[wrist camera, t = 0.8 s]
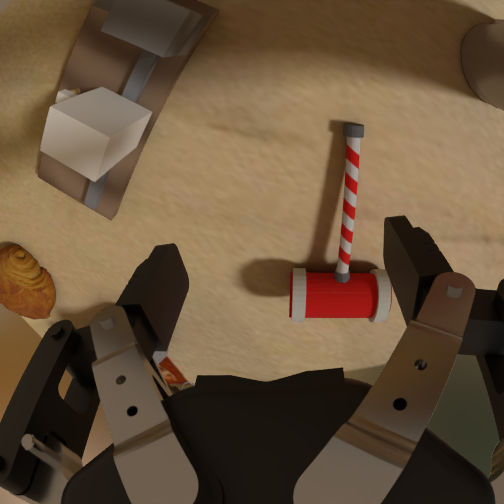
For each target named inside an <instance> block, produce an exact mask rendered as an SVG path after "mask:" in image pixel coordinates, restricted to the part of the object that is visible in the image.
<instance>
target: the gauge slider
mask: <svg viewBox="0 0 504 504" xmlns="http://www.w3.org/2000/svg"><path fill="white" fill-rule="evenodd" d="M55 103H57V104H54V105H52V106H50V109H49V112H48V116H47V120H46V124H45V128H44V133H43V137H42V142H41V146H40V151H42V152H44V153H45V154H47V155H49V156H51V157H52V158H54V159H56V160H57V161H59V162H61V163H63V164H64V165H66V166H68V167H70V168H71V169H73V170H75V171H76V172H78V173H80V174H82V175H83V176H85V177H87V178H89V179H90V180H92V181H94V182H96V181H97V180H98V179H99V178H100V177H101V176H102V175H104V174H105V173H106V172H107V171H108V170H109V169H111V168H112V167H113V166H114V165H115V164H116V163H118V162H119V161H120V160H121V159H122V158H124V157H125V156H126V155H127V154H129V153H130V152H131V151H132V150H134V149H135V148H136V147H137V145H138V143H139V140H140V138H141V136H142V134H143V131H144V129H145V127H146V125H147V123H148V121H149V119H150V116H151V114H152V111H150V110H148V109H146V108H144V107H142V106H140V105H138V104H136V103H134V102H132V101H130V100H128V99H126V98H124V97H122V96H120V95H118V94H116V93H114V92H112V91H110V90H108V89H106V88H104V87H100V88H97V89H94V90H91V91H88V92H85V93H83V94H80V90H79V89H78V88H75V89H72V90H66V89H64V90H61V91H58V94H57V97H56V101H55Z"/></svg>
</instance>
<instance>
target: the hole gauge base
mask: <svg viewBox="0 0 504 504" xmlns="http://www.w3.org/2000/svg"><path fill="white" fill-rule="evenodd" d="M218 12H219V10H217V9H215V8H212V7H210V6H208V5H206V4H204V3H201V2H199V1H197V0H95V1H94V3H93V5H92V7H91V9H90V11H89V13H88V15H87V17H86V19H85V21H84V24H83V26H82V28H81V30H80V33H79V35H78V37H77V40H76V42H75V45H74V47H73V50H72V52H71V55H70V58H69V60H68V63H67V66H66V69H65V71H64V74H63V77H62V80H61V83H60V86H59V90H58V91H61V90H64V89H66V90H72V89H75V88H78V89H79V90H80V94H83V93H85V92H88V91H91V90H94V89H97V88H100V87H104V88H106V89H108V90H110V91H112V92H114V93H116V94H118V95H120V96H122V97H124V98H126V99H128V100H130V101H132V102H134V103H136V104H138V105H140V106H142V107H144V108H146V109H148V110H150V111H152V114H151V116H150V119H149V121H148V123H147V125H146V127H145V129H144V131H143V134H142V136H141V138H140V140H139V143H138V145H137V147H136V148H135V149H134V150H132V151H131V152H130V153H129V154H127V155H126V156H125V157H124V158H122V159H121V160H120V161H119V162H118V163H116V164H115V165H114V166H113V167H112V168H111V169H109V170H108V171H107V172H106V173H105V174H104V175H102V176H101V177H100V178H99V179H98V180H97V181H96V182H94V181H92V180H90V179H89V178H87V177H85V176H83V175H82V174H80V173H78V172H76V171H75V170H73V169H71V168H70V167H68V166H66V165H64V164H63V163H61V162H59V161H57V160H56V159H54V158H52V157H51V156H49V155H47V154H45V153H44V152H42V156H41V161H40V167H39V172H38V177H39V178H40V179H42V180H44V181H45V182H47V183H49V184H50V185H52V186H53V187H55V188H57V189H58V190H60V191H62V192H63V193H65V194H67V195H68V196H70V197H72V198H73V199H75V200H77V201H78V202H80V203H82V204H84V205H85V206H87V207H89V208H90V209H92V210H94V211H95V212H97V213H99V214H101V215H102V216H104V217H106V218H108V219H109V220H112V219H113V218H114V217H115V215H116V214H117V211H118V209H119V206H120V203H121V201H122V198H123V195H124V193H125V190H126V188H127V185H128V183H129V180H130V178H131V175H132V173H133V171H134V168H135V166H136V164H137V161H138V159H139V157H140V154H141V152H142V150H143V148H144V145H145V143H146V141H147V139H148V137H149V134H150V132H151V130H152V128H153V126H154V124H155V122H156V120H157V118H158V116H159V114H160V112H161V110H162V108H163V106H164V104H165V102H166V100H167V98H168V96H169V94H170V92H171V90H172V88H173V87H174V85H175V83H176V81H177V79H178V77H179V76H180V74H181V72H182V70H183V68H184V67H185V65H186V63H187V62H188V60H189V58H190V56H191V55H192V53H193V51H194V50H195V48H196V46H197V45H198V43H199V41H200V40H201V38H202V37H203V35H204V33H205V32H206V30H207V29H208V27H209V26H210V24H211V22H212V21H213V19H214V18H215V16H216V15H217V13H218ZM57 94H58V93H57ZM56 97H57V96H56ZM55 101H56V99H55ZM54 104H57V103H54Z"/></svg>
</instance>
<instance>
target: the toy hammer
mask: <svg viewBox="0 0 504 504" xmlns="http://www.w3.org/2000/svg"><path fill="white" fill-rule="evenodd" d="M344 136H347V148H346V170H345V187H344V201H343V214H342V226H341V236H340V246H339V256H338V264H337V268H336V270H335V273H306V268H293V272H291V276H290V309H289V317H291V322H304V319H305V318H368V319H369V321H370V322H384V321H385V320H386V318H387V317H388V314H389V311H390V308H391V302H392V287H391V282H390V279H389V277H388V274H387V271H386V270H385V269H372V270H371V271H370V273H349V269H348V268H349V260H350V252H351V244H352V236H353V227H354V217H355V207H356V196H357V183H358V169H359V153H360V138H363V137H364V125H362V124H352V123H344Z"/></svg>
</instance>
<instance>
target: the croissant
mask: <svg viewBox="0 0 504 504" xmlns="http://www.w3.org/2000/svg"><path fill="white" fill-rule="evenodd" d="M55 301H56V291H55V287H54V284H53V280H52V278H51V275H50V274H49V273H47V270H46V269H45V268H43V267H41V268H40V267H39V264H38V261H37V260H35V259H34V258H33V256H31V255H30V254H29V253H28V252H27V251H25V250H24V249H23V248H22V247H20V246H16V245H11V246H7V247H5V248H3V249H1V250H0V303H1V304H3V305H4V307H6V308H7V309H9V310H11V311H13V312H15V313H18V314H19V315H21V316H24V317H28V318H31V319H46V318H49V317H50V316H51V315H50V312H51V310H52V308H53V307H54V305H55Z"/></svg>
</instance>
